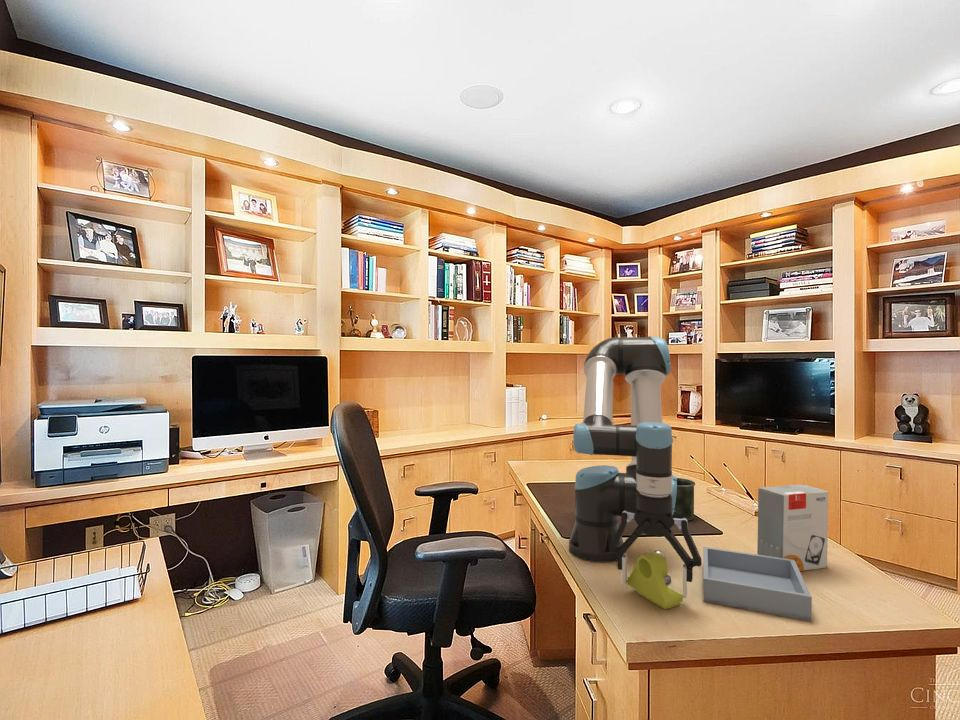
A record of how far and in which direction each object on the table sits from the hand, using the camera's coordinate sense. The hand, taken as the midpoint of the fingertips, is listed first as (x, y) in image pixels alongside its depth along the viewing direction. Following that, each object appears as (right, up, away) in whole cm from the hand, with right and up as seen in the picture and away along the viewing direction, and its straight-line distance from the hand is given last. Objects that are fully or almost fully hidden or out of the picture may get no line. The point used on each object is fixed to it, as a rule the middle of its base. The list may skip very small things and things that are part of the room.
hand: (653, 589), depth 107 cm
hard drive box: (+42, -2, +18) cm, 46 cm away
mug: (+28, -2, +55) cm, 62 cm away
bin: (+24, -2, +4) cm, 24 cm away
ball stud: (+5, -2, +10) cm, 11 cm away
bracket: (0, -2, 0) cm, 2 cm away
